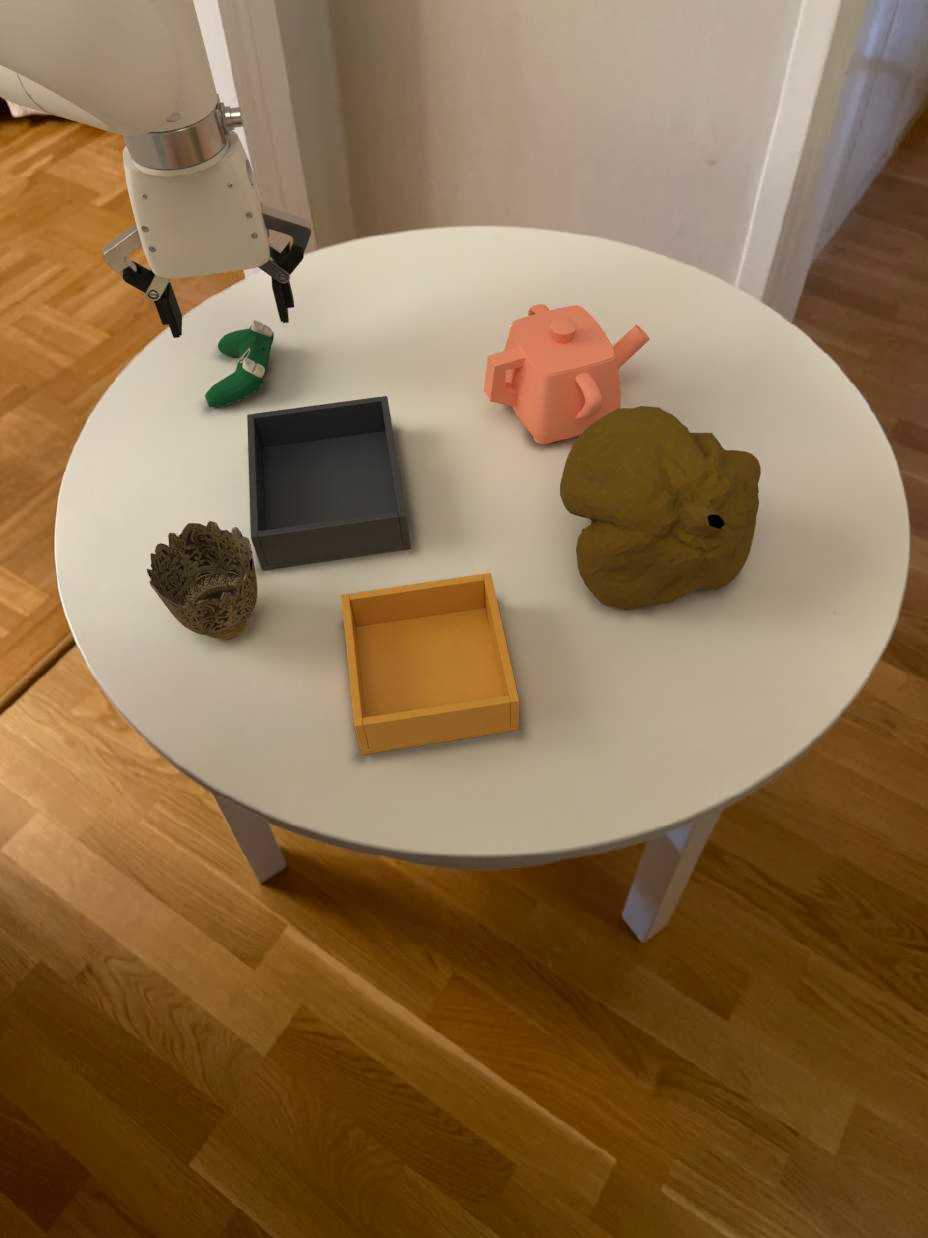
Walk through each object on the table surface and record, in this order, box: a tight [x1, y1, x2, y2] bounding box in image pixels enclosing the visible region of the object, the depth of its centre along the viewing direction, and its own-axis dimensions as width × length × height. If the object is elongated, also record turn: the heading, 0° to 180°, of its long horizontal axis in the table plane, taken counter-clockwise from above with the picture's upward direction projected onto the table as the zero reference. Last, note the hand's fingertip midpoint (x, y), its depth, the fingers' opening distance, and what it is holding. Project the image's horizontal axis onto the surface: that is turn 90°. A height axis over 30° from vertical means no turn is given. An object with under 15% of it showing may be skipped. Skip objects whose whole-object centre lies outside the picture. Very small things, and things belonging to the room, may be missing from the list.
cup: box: [146, 520, 258, 641], centre depth 69 cm, size 8×7×8 cm
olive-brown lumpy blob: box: [559, 405, 762, 611], centre depth 69 cm, size 14×14×14 cm
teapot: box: [483, 303, 651, 445], centre depth 81 cm, size 12×12×10 cm
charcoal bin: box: [246, 395, 412, 571], centre depth 78 cm, size 12×14×4 cm
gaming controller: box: [204, 319, 275, 408], centre depth 88 cm, size 9×4×6 cm
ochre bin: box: [340, 572, 520, 755], centre depth 67 cm, size 11×11×4 cm
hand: (231, 320), depth 84 cm, fingers open, 9 cm apart
